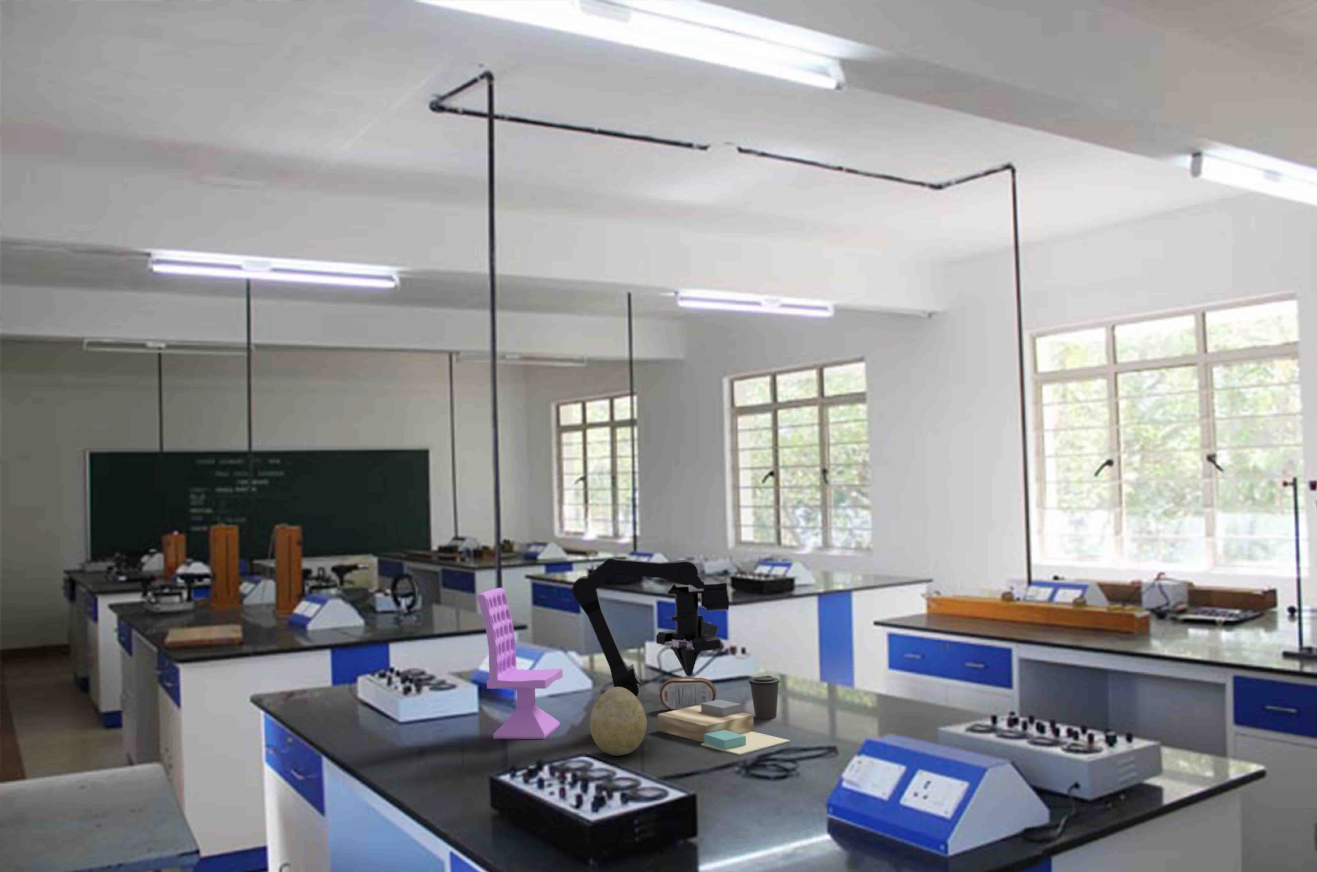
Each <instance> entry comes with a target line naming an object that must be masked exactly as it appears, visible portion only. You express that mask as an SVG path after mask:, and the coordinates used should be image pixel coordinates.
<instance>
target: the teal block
mask: <svg viewBox="0 0 1317 872" xmlns="http://www.w3.org/2000/svg"><path fill="white" fill-rule="evenodd" d="M703 743H707V744H710V745H713V746H716V747H719V748H722V749H729V748H734V747H739V746H743V745H746V736H744V735H741V734H737V733H734V732H731V731H727V730H721V731H716V732H711V733H706V734H704V742H703Z"/></svg>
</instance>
